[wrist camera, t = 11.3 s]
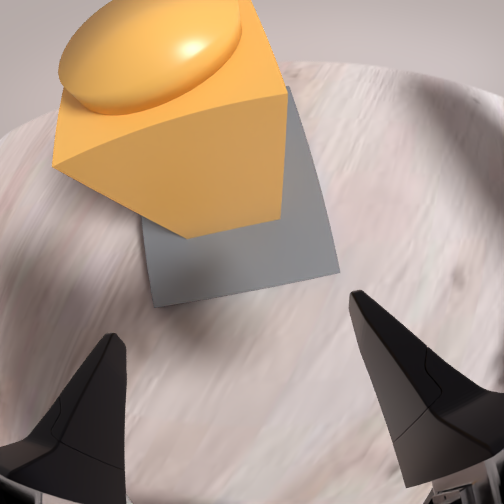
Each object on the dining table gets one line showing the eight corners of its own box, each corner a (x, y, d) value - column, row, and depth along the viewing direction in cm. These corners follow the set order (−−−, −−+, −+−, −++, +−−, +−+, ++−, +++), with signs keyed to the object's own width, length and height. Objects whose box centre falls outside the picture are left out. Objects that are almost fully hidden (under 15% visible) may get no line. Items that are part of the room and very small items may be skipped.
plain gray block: (337, 273, 18) (357, 269, 13) (159, 306, 19) (126, 312, 14) (288, 93, 20) (290, 51, 15) (141, 128, 21) (114, 97, 16)
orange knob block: (280, 219, 18) (289, 63, 4) (186, 239, 18) (28, 153, 5) (260, 135, 19) (237, -44, 5) (175, 156, 19) (67, 15, 6)
